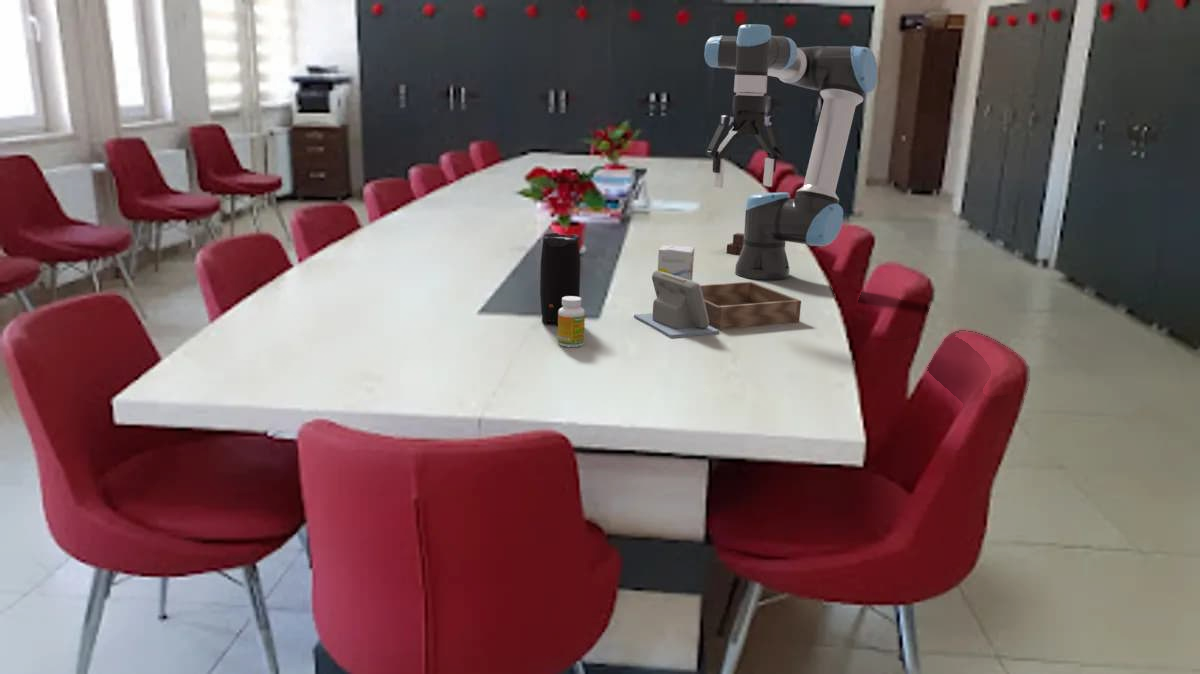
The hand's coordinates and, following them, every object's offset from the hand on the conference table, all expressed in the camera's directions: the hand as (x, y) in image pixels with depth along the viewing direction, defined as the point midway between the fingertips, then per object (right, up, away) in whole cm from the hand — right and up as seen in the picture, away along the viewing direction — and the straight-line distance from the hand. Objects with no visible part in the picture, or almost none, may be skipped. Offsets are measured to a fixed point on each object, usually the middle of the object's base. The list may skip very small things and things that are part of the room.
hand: (743, 186), depth 222 cm
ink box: (-15, -25, +18) cm, 34 cm away
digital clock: (-17, -33, -14) cm, 39 cm away
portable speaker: (-43, -33, -14) cm, 56 cm away
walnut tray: (-3, -31, -3) cm, 31 cm away
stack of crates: (+10, -10, +75) cm, 76 cm away
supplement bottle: (-40, -38, -31) cm, 63 cm away
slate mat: (-17, -33, -14) cm, 40 cm away
